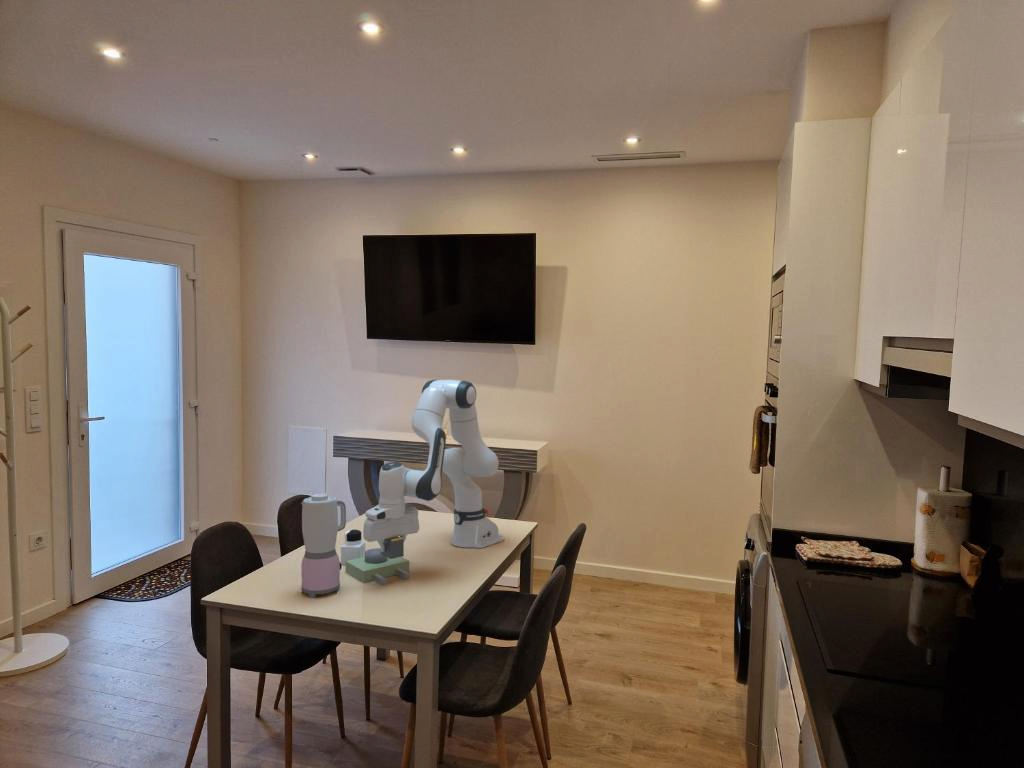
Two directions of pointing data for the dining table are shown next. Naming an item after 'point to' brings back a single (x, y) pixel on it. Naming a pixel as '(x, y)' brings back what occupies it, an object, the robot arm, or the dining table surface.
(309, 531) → the blender
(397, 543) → the grey block yellow strip
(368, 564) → the green piece
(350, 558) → the medicine bottle
